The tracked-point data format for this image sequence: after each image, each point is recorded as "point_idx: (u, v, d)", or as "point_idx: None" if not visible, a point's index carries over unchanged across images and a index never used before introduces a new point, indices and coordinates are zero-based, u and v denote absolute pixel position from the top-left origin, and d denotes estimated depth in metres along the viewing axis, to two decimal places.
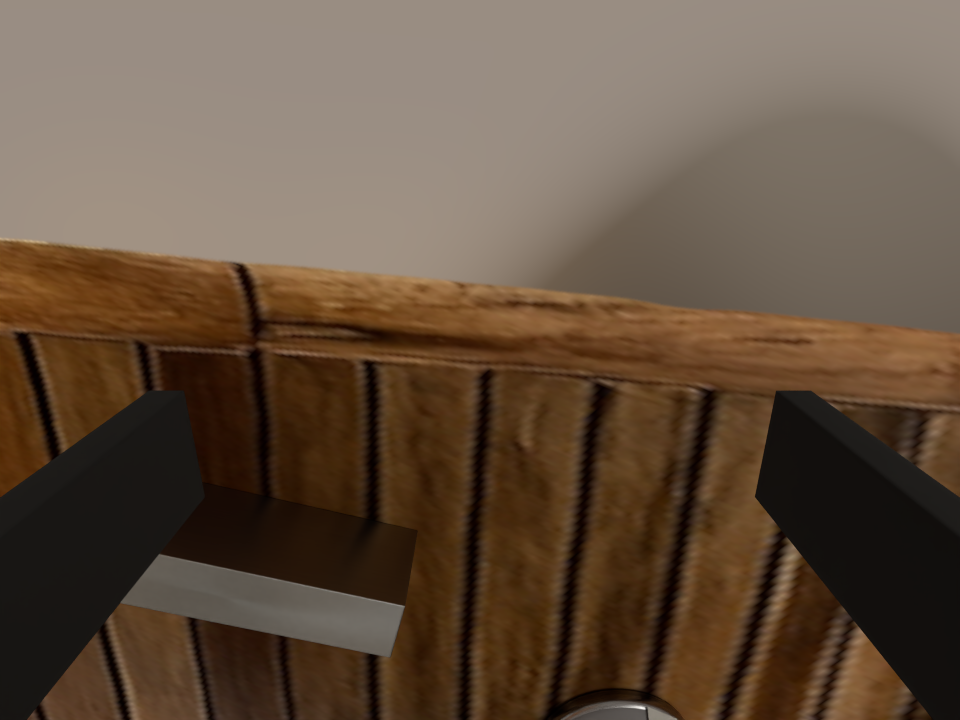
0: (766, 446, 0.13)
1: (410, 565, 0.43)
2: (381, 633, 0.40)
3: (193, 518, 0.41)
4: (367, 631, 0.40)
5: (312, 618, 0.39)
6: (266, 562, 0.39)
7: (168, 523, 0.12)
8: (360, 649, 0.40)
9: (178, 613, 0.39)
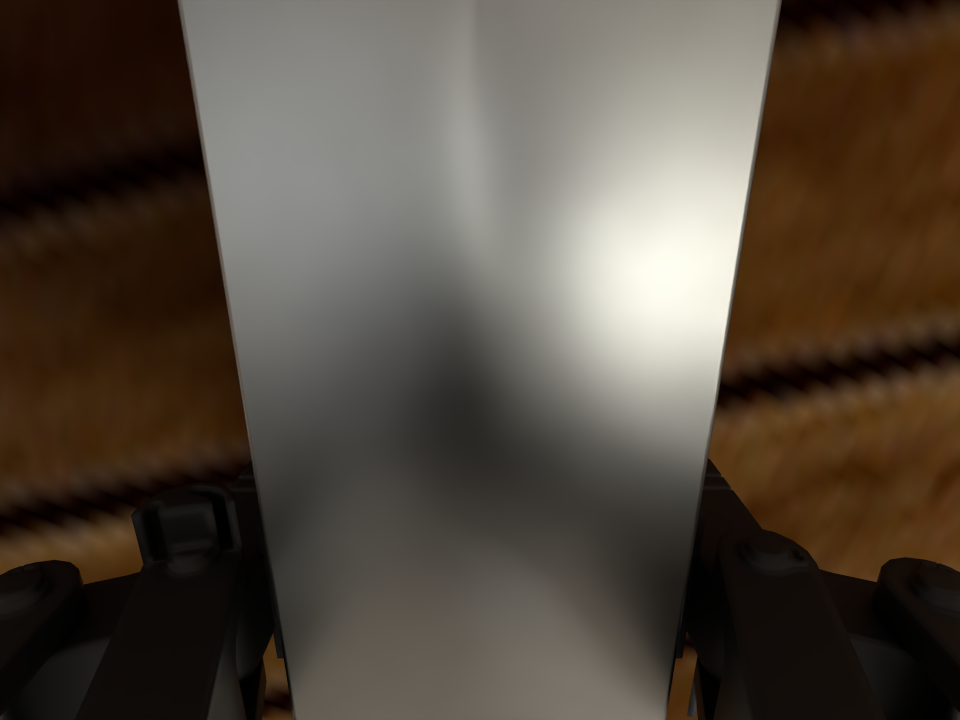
0: None
1: None
2: None
3: None
4: None
5: (456, 571, 0.07)
6: None
7: None
8: None
9: None
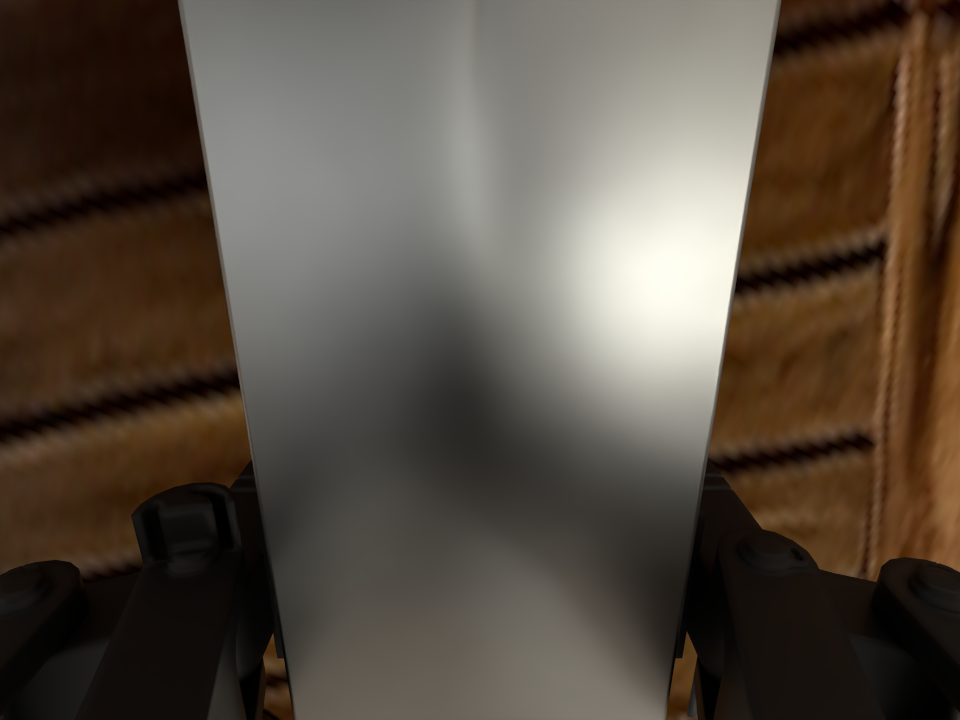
0: None
1: None
2: None
3: None
4: None
5: (456, 569, 0.07)
6: None
7: None
8: None
9: None
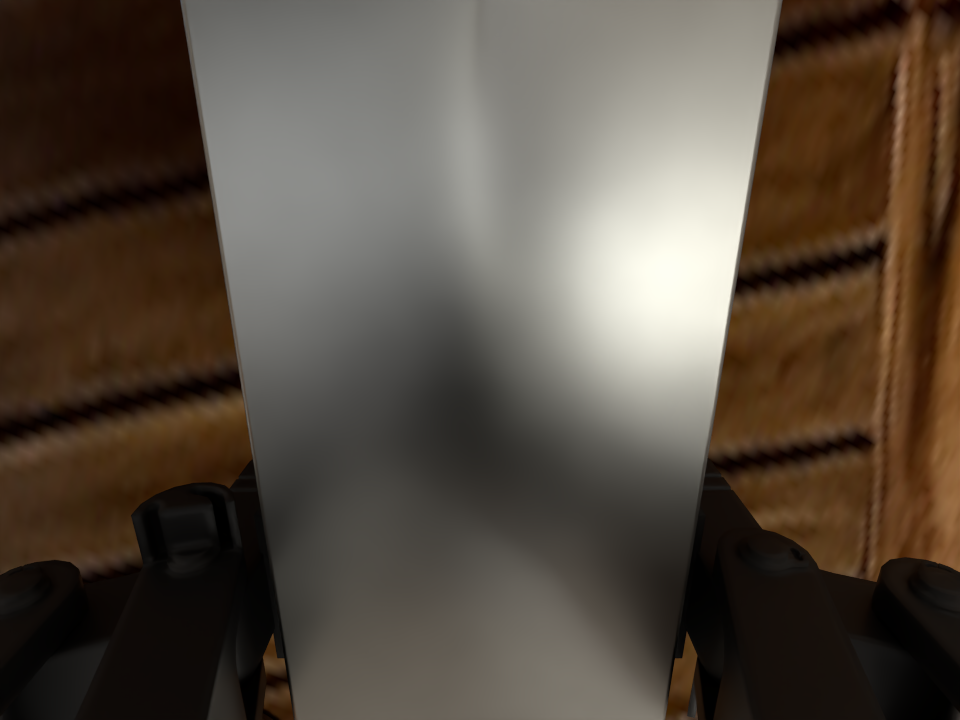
0: None
1: None
2: None
3: None
4: None
5: (456, 569, 0.07)
6: None
7: None
8: None
9: None
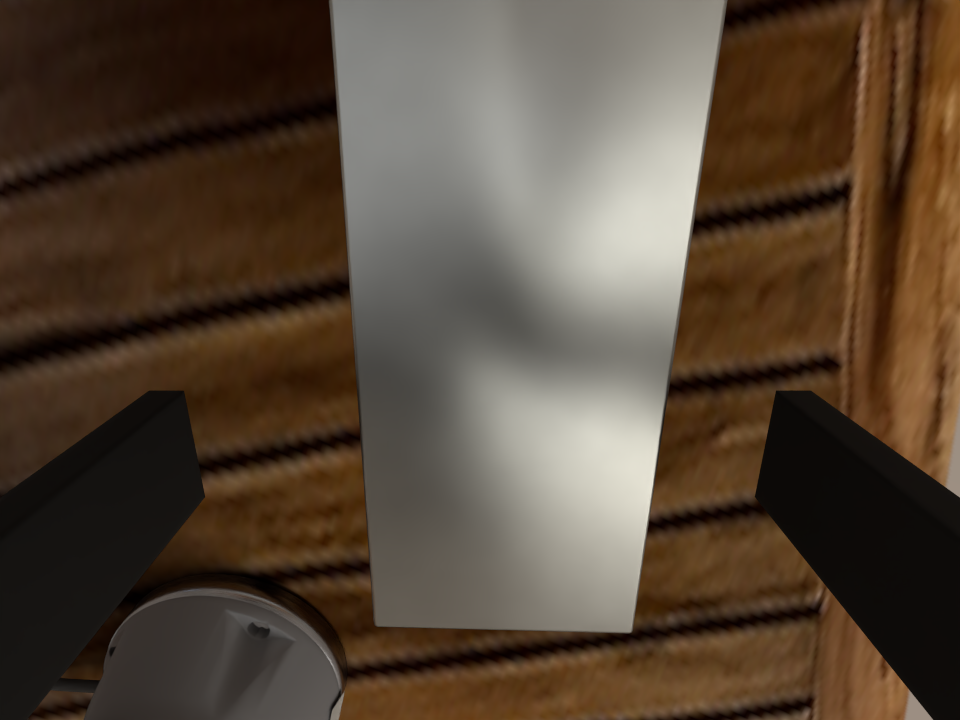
0: (767, 446, 0.13)
1: None
2: (483, 586, 0.10)
3: None
4: (483, 543, 0.10)
5: (496, 326, 0.08)
6: None
7: (168, 523, 0.12)
8: (380, 532, 0.10)
9: None
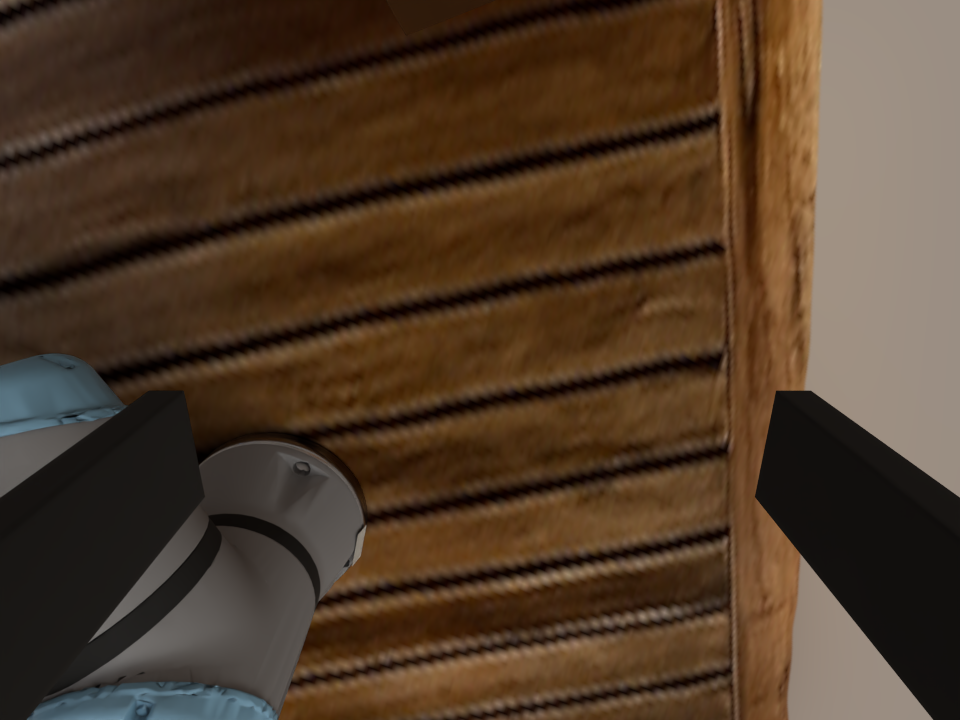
0: (766, 446, 0.13)
1: None
2: None
3: None
4: None
5: None
6: None
7: (168, 522, 0.12)
8: None
9: None
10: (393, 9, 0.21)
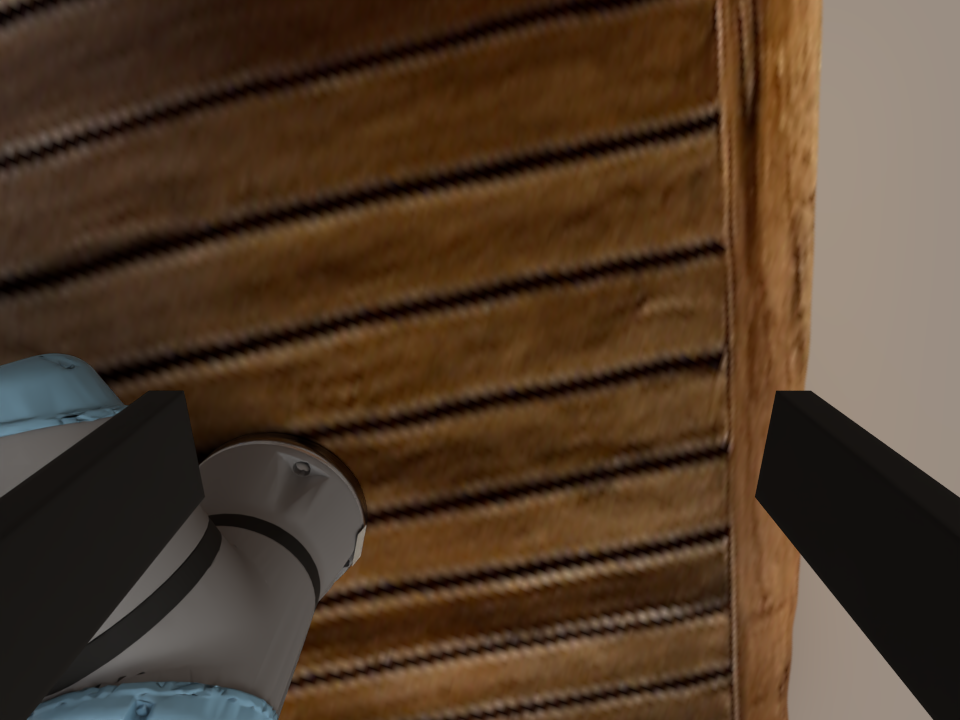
0: (767, 446, 0.13)
1: None
2: None
3: None
4: None
5: None
6: None
7: (168, 523, 0.12)
8: None
9: None
10: None
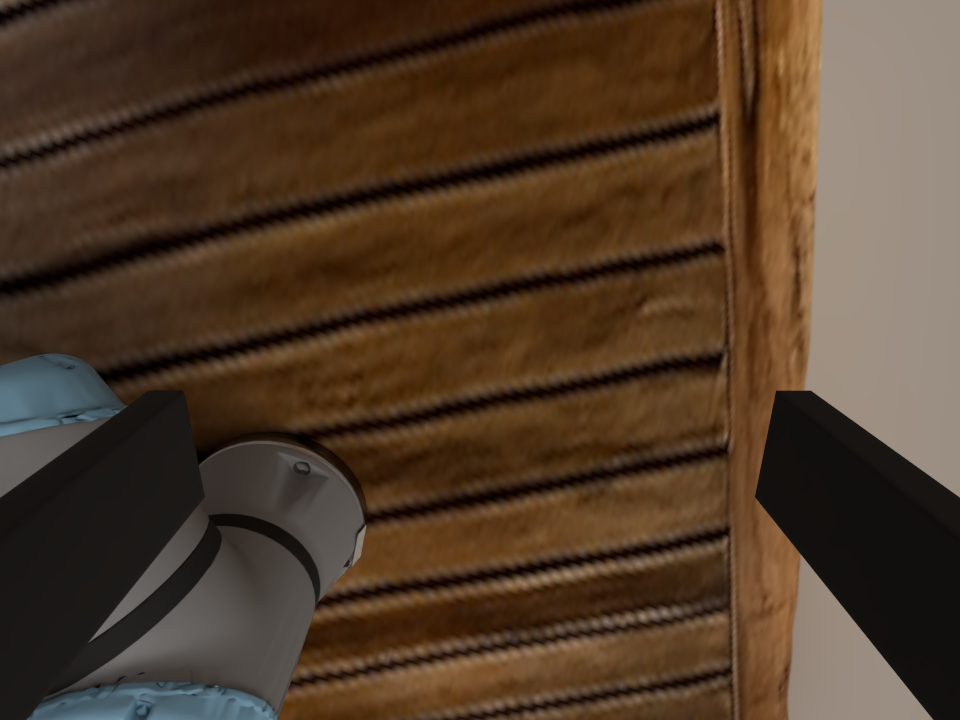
0: (767, 446, 0.13)
1: None
2: None
3: None
4: None
5: None
6: None
7: (168, 523, 0.12)
8: None
9: None
10: None
